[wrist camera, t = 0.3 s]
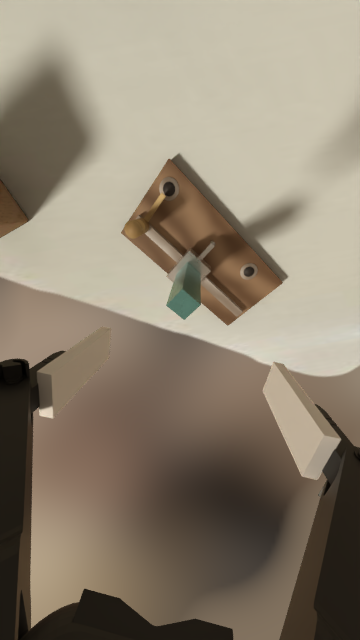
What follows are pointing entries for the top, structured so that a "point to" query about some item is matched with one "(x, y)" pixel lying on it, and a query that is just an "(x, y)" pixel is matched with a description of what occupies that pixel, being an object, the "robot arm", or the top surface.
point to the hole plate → (199, 244)
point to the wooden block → (9, 212)
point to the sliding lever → (188, 281)
